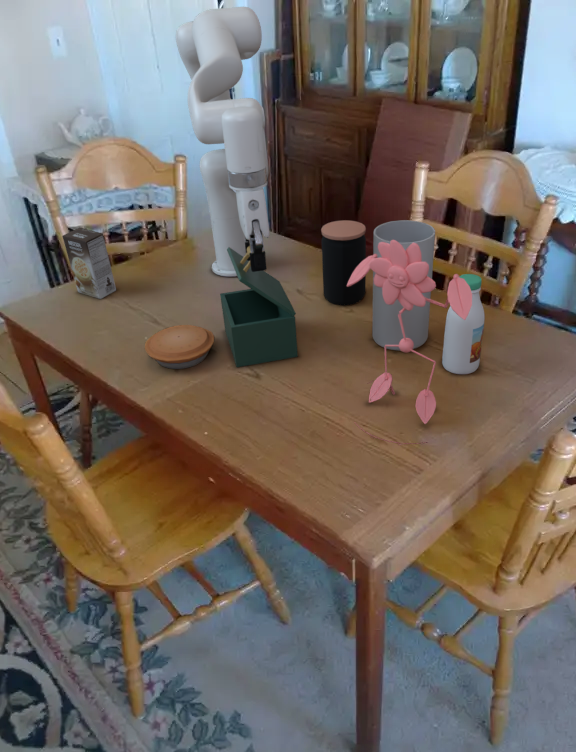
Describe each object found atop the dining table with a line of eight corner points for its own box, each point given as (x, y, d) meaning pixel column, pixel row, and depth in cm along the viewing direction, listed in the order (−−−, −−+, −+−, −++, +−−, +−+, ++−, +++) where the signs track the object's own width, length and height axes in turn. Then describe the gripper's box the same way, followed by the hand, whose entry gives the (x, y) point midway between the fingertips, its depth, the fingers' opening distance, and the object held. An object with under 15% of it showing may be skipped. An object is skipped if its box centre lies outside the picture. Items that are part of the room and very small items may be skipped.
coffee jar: (365, 287, 171) (366, 219, 160) (364, 306, 163) (365, 236, 152) (325, 287, 173) (322, 220, 161) (322, 306, 164) (319, 237, 153)
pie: (197, 379, 141) (194, 359, 138) (135, 369, 146) (130, 349, 142) (227, 343, 152) (225, 324, 149) (168, 335, 157) (164, 316, 154)
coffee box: (76, 292, 178) (60, 235, 168) (94, 283, 182) (79, 226, 172) (100, 299, 174) (85, 241, 164) (118, 290, 178) (103, 232, 168)
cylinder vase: (365, 348, 147) (366, 240, 132) (380, 321, 157) (382, 218, 141) (421, 355, 144) (428, 245, 128) (432, 328, 153) (440, 222, 138)
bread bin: (236, 367, 144) (231, 327, 138) (225, 331, 157) (219, 293, 151) (297, 356, 146) (295, 317, 140) (281, 322, 159) (278, 284, 153)
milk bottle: (457, 379, 136) (466, 290, 124) (434, 362, 141) (441, 275, 129) (486, 368, 138) (498, 280, 126) (463, 352, 144) (472, 266, 132)
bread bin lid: (239, 280, 132) (254, 260, 130) (226, 249, 145) (240, 230, 143) (293, 316, 140) (309, 297, 138) (277, 283, 153) (291, 266, 151)
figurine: (363, 377, 138) (364, 212, 117) (472, 423, 124) (495, 244, 102) (315, 411, 129) (306, 240, 108) (426, 465, 115) (441, 279, 94)
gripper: (274, 188, 123) (281, 278, 134) (258, 163, 136) (266, 247, 147) (235, 193, 122) (245, 284, 133) (222, 167, 135) (233, 252, 146)
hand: (256, 264), depth 140 cm, fingers closed on bread bin lid, 5 cm apart
